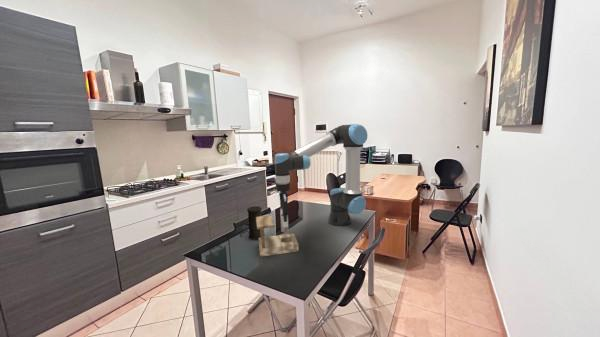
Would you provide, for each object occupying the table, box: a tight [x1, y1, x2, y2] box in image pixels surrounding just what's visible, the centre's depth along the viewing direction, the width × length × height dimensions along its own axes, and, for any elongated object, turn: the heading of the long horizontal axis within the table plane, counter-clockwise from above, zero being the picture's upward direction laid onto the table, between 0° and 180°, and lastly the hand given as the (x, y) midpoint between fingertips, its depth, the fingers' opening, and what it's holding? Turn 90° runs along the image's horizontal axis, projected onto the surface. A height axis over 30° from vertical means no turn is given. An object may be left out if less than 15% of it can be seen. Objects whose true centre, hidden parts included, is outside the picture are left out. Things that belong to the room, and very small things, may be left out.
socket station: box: [256, 215, 300, 258], centre depth 132 cm, size 20×15×16 cm
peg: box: [279, 208, 289, 233], centre depth 132 cm, size 4×4×12 cm
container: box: [247, 205, 263, 241], centre depth 147 cm, size 9×9×18 cm
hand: (284, 225), depth 132 cm, fingers closed on peg, 4 cm apart
